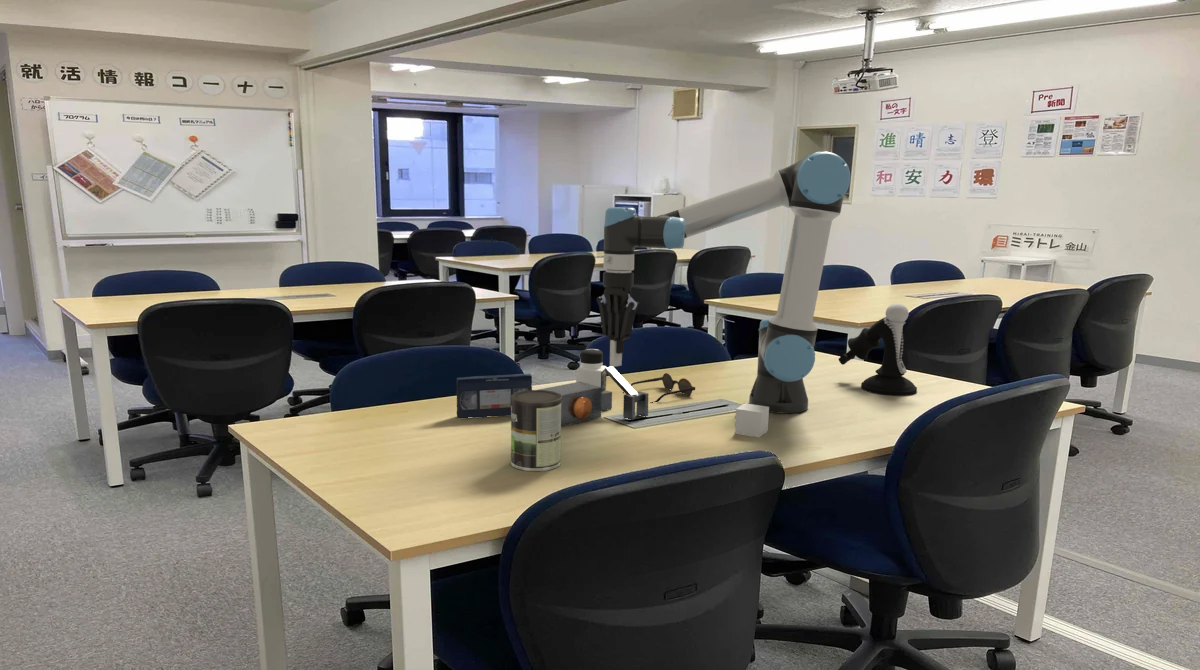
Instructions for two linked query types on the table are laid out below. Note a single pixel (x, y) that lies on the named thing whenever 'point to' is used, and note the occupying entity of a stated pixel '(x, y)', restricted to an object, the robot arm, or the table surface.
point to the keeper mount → (626, 404)
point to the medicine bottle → (592, 368)
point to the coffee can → (536, 430)
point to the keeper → (623, 383)
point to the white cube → (751, 420)
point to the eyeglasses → (671, 385)
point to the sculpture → (892, 367)
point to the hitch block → (573, 392)
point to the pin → (581, 407)
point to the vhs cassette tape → (489, 394)
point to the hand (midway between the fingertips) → (615, 365)
